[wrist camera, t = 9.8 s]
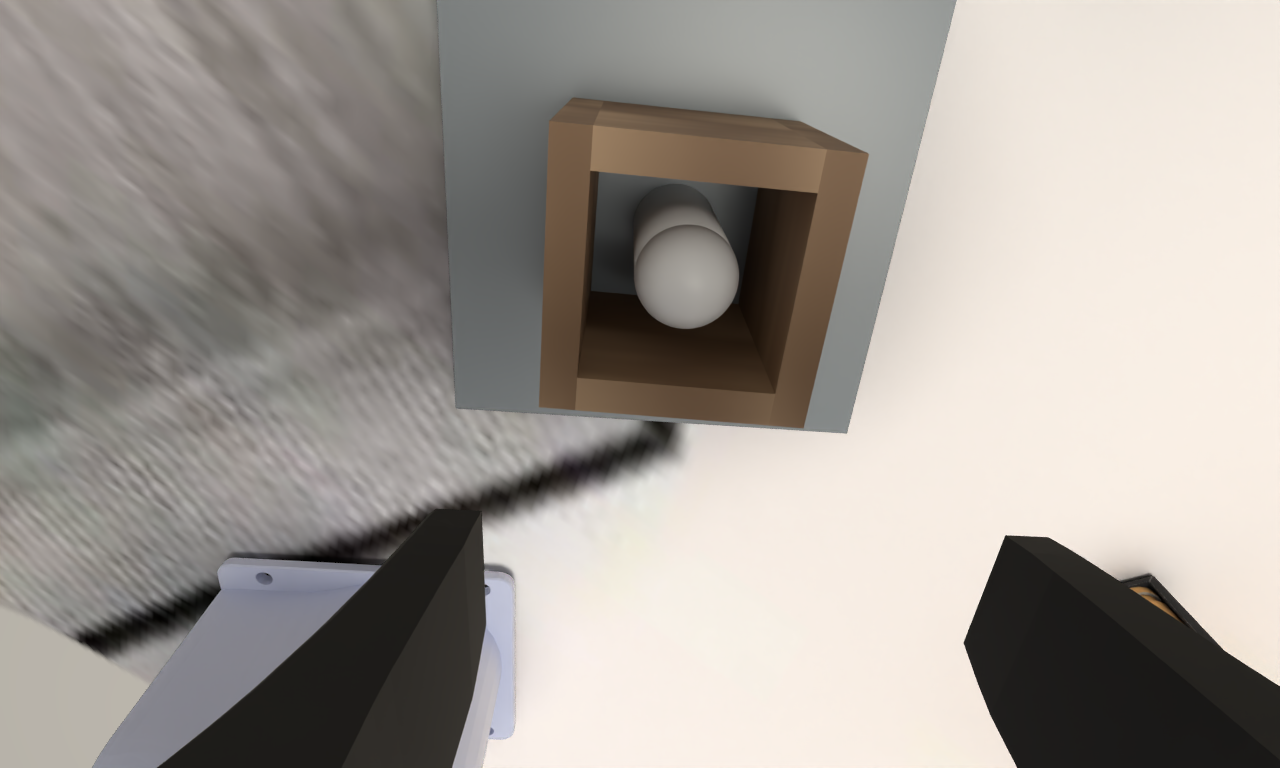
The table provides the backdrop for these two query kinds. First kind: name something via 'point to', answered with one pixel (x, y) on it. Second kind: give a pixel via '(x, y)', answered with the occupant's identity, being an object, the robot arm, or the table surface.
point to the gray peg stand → (661, 207)
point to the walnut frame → (772, 281)
